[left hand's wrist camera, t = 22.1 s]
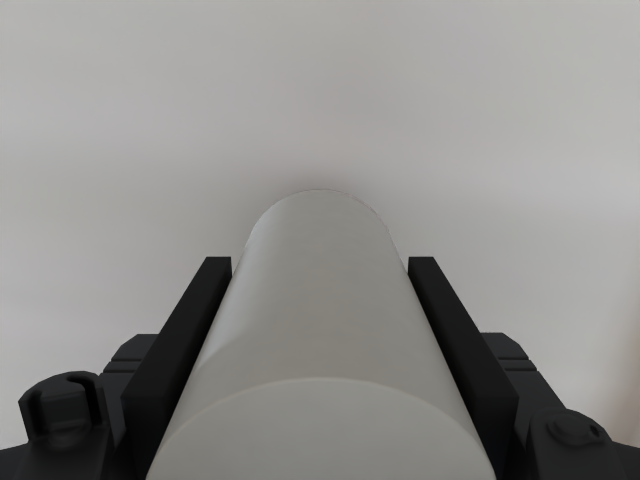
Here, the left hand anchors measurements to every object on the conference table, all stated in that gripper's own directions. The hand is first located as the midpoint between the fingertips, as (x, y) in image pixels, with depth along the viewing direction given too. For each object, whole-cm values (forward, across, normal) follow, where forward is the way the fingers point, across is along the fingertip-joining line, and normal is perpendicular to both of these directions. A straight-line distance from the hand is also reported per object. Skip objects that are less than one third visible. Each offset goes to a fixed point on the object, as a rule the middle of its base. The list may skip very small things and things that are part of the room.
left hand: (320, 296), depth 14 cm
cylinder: (+3, 0, 0) cm, 3 cm away
